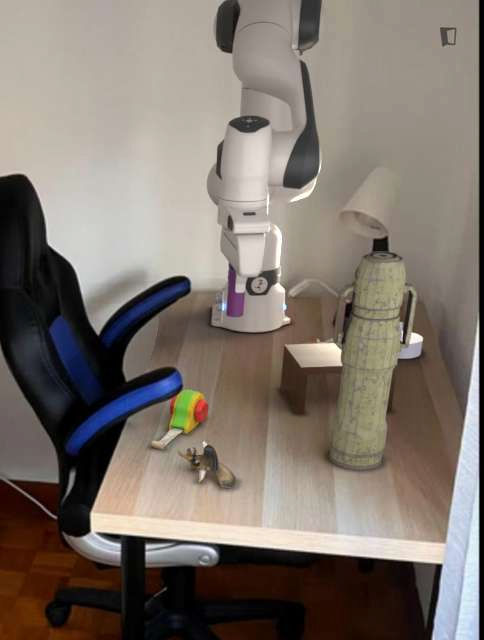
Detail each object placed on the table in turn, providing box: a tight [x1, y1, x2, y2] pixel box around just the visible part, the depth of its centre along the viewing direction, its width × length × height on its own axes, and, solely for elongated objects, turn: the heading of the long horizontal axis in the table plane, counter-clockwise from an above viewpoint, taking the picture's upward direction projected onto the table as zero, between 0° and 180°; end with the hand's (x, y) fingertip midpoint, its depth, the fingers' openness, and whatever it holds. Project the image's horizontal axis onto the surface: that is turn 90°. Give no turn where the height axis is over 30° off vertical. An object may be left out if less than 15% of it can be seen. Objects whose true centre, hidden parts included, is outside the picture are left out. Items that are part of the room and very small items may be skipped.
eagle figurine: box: [176, 441, 237, 489], centre depth 161 cm, size 8×7×9 cm
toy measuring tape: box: [150, 389, 209, 450], centre depth 178 cm, size 6×20×7 cm, turn 147°
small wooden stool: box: [279, 342, 399, 415], centre depth 188 cm, size 13×18×10 cm
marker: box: [226, 261, 246, 317], centre depth 182 cm, size 4×4×12 cm
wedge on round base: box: [398, 321, 424, 360], centre depth 213 cm, size 9×7×13 cm
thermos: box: [328, 250, 419, 471], centre depth 159 cm, size 9×12×35 cm
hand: (236, 288), depth 183 cm, fingers closed on marker, 3 cm apart
